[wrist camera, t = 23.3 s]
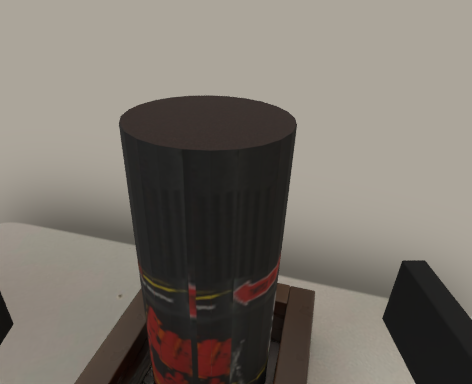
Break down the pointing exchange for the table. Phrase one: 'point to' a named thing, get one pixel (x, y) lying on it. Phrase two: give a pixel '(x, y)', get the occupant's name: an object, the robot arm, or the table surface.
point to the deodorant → (208, 231)
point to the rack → (138, 350)
